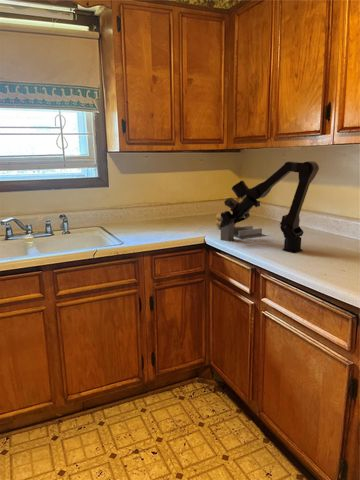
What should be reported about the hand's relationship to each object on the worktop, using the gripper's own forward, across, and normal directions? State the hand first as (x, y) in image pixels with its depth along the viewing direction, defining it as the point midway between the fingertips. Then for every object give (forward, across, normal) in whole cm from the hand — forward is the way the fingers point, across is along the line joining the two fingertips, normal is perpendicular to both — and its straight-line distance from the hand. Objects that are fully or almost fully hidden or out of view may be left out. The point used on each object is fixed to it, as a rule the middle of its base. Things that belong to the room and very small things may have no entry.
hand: (225, 225), depth 187 cm
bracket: (+2, -15, +7) cm, 17 cm away
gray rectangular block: (+4, 0, +6) cm, 7 cm away
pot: (+15, -23, -5) cm, 28 cm away
